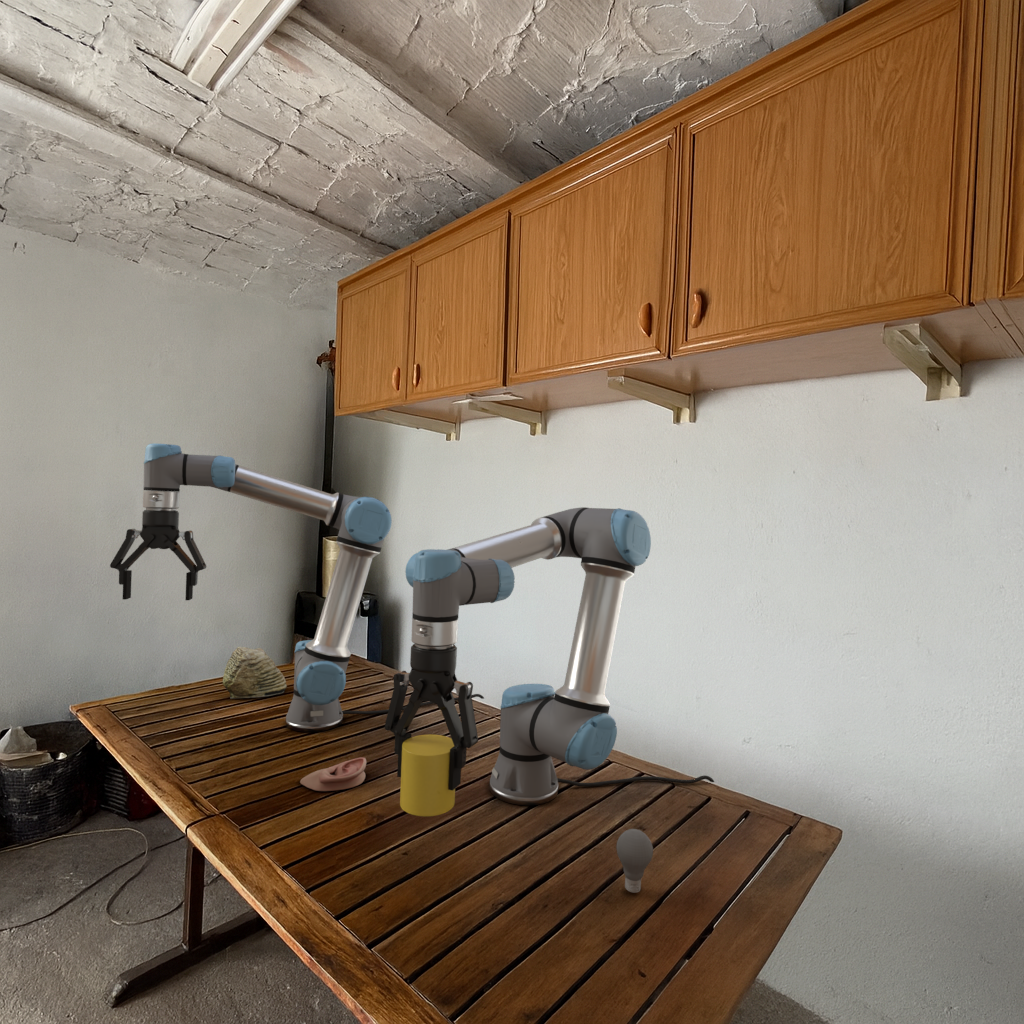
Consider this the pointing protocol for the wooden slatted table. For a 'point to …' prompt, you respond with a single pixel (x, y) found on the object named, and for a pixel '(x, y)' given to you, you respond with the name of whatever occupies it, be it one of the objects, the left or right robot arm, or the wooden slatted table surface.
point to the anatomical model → (337, 776)
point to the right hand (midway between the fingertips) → (428, 780)
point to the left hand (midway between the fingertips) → (158, 599)
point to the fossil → (252, 674)
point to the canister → (426, 775)
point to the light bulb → (634, 857)
